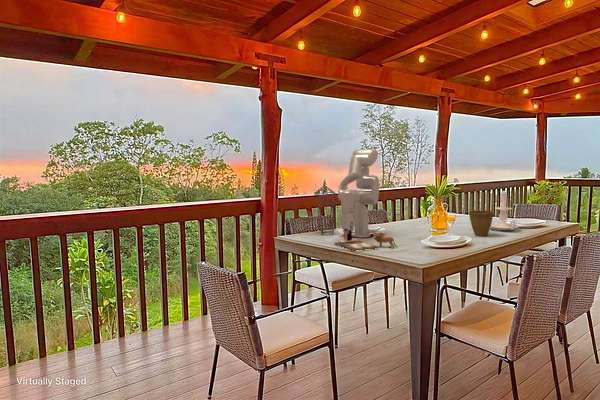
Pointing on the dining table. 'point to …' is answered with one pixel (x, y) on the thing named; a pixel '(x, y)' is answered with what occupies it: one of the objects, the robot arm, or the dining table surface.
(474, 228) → the plant pot
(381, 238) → the lion figurine
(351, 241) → the stub
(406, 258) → the dining table surface
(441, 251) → the dining table surface
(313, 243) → the dining table surface
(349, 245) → the ticket board
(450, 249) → the dining table surface
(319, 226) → the geometric lantern
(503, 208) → the candlestick
